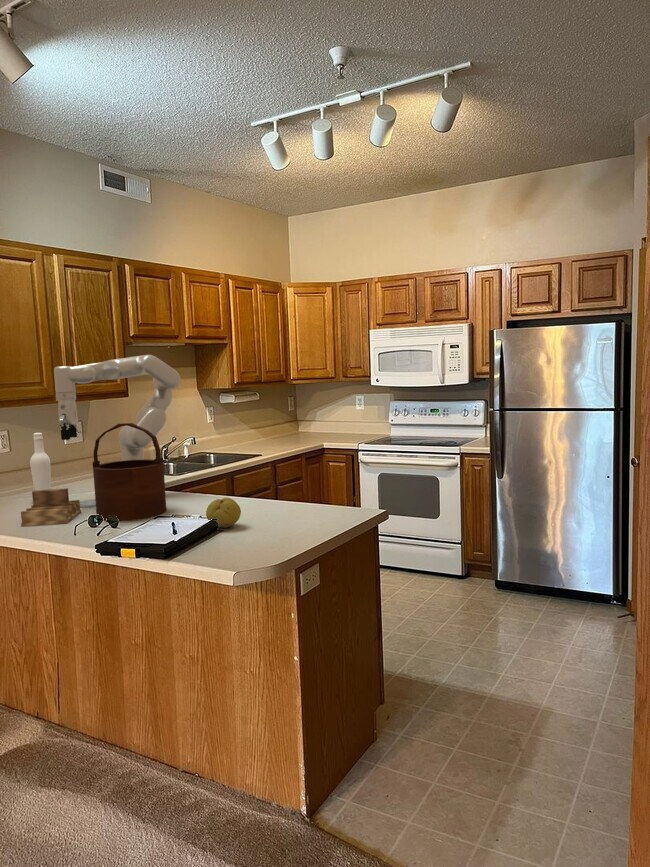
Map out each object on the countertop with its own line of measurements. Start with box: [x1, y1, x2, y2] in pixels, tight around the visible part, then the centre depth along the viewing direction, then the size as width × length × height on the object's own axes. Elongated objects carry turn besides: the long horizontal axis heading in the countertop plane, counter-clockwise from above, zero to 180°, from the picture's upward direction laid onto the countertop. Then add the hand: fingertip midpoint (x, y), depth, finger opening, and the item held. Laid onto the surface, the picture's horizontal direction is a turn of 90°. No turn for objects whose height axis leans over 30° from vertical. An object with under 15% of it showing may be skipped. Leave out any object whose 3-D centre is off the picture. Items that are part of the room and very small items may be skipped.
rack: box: [20, 499, 82, 527], centre depth 231 cm, size 16×18×5 cm
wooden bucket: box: [92, 422, 167, 522], centre depth 235 cm, size 26×26×35 cm
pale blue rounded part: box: [80, 498, 96, 509], centre depth 256 cm, size 12×12×1 cm
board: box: [31, 487, 70, 508], centre depth 231 cm, size 12×3×10 cm, turn 97°
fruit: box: [205, 497, 242, 529], centre depth 209 cm, size 11×12×10 cm
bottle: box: [29, 432, 52, 491], centre depth 264 cm, size 8×8×30 cm
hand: (69, 438), depth 251 cm, fingers open, 9 cm apart
